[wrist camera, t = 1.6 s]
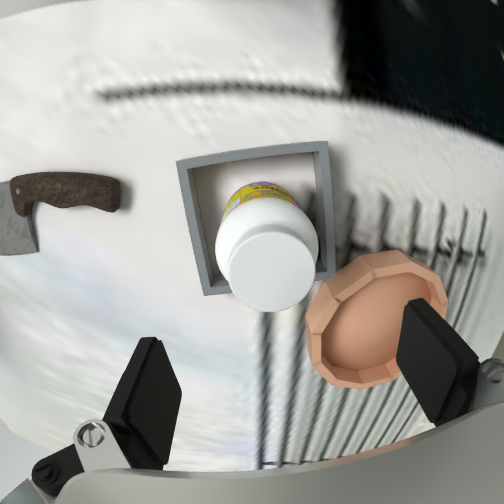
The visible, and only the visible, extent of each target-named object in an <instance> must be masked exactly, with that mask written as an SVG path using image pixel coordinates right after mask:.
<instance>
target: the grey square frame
mask: <svg viewBox="0 0 504 504" xmlns="http://www.w3.org/2000/svg"><path fill="white" fill-rule="evenodd" d="M303 152H313V160H314V169H315V179H316V190H317V202H318V214H319V229H320V245H321V261H318V262H316V264H315V278H314V281H319V280H325V279H331V278H336V261H335V232H334V213H333V198H332V184H331V173H330V162H329V152H328V143H327V141H313V142H301V143H291V144H281V145H272V146H264V147H256V148H248V149H241V150H234V151H228V152H222V153H216V154H210V155H204V156H198V157H193V158H188V159H183V160H179V161H176V165H177V170H178V176H179V181H180V187H181V192H182V197H183V202H184V208H185V213H186V218H187V222H188V227H189V232H190V237H191V241H192V246H193V251H194V255H195V260H196V264H197V268H198V273H199V277H200V281H201V285H202V290H203V294H204V296H208V295H217V294H225V293H233V292H232V290H231V288H230V285H229V282H228V281H227V280H226V279H225V277H224V276H223V275H216V276H213V273H212V268H211V263H210V259H209V254H208V249H207V244H206V239H205V234H204V229H203V224H202V219H201V213H200V208H199V203H198V197H197V192H196V186H195V180H194V175H193V169H192V168H194V167H200V166H206V165H211V164H217V163H224V162H230V161H237V160H243V159H251V158H258V157H266V156H274V155H283V154H292V153H303Z"/></svg>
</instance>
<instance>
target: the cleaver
mask: <svg viewBox="0 0 504 504" xmlns="http://www.w3.org/2000/svg"><path fill="white" fill-rule="evenodd" d="M34 201H41V202H45V203H47V204H49V205H52V206H54V207H58V208H69V207H73V206H78V205H88V206H91V207H95V208H98V209H101V210H104V211H107V212H115V211H116V210H117V209H118V208H119V206H120V183H119V181H118V180H117V179H114V178H112V177H107V176H102V175H96V174H88V173H74V172H40V173H32V174H25V175H20V176H16V177H14V178H12V179H11V180H10V181H7V182H2V183H0V255H21V254H28V253H34V252H37V245H36V239H35V233H34V228H33V224H32V219H31V215H30V214H31V212H32V206H33V202H34Z"/></svg>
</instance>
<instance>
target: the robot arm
mask: <svg viewBox="0 0 504 504" xmlns="http://www.w3.org/2000/svg"><path fill="white" fill-rule="evenodd" d="M478 359H479V357H478V356H477V355H476V354H475V352H474V351H473V350H472V349H471V348H470V347H469V346H468V345H467V343H466V342H465V341H464V340H463V339H462V338H461V337H460V336H459V335H458V334H457V332H456V331H455V330H454V329H453V328H452V327H451V326H450V325H449V324H448V323H447V322H446V321H445V320H444V319H443V318H442V317H441V316H440V315H439V313H438V312H437V311H436V310H435V309H434V308H433V307H432V306H431V305H430V304H429V303H428V302H427V301H426V300H425V299H424V298H417V299H413V300H409V301H408V303H407V305H405V306H404V311H403V318H402V325H401V331H400V337H399V343H398V348H397V353H396V363H397V366H398V367H399V369H400V371H401V372H402V374H403V376H404V377H405V379H406V381H407V383H408V384H409V386H410V388H411V389H412V391H413V393H414V395H415V396H416V398H417V400H418V402H419V404H420V405H421V407H422V409H423V411H424V413H425V414H426V416H427V418H428V420H429V421H430V422H431V423H434V424H435V426H436V427H435V428H433V429H430V430H428V431H425V432H423V433H420V434H418V435H415V436H412V437H410V438H407V439H404V440H401V441H398V442H395V443H392V444H389V445H386V446H383V447H379V448H376V449H372V450H369V451H365V452H361V453H357V454H354V455H349V456H345V457H341V458H336V459H332V460H327V461H322V462H316V463H311V464H305V465H298V466H291V467H284V468H275V469H265V470H253V471H236V472H182V471H164V470H163V466H164V465H166V464H167V463H168V460H169V455H170V450H171V445H172V440H173V435H174V430H175V425H176V421H177V416H178V411H179V407H180V402H181V397H182V391H181V388H180V385H179V383H178V381H177V378H176V376H175V373H174V371H173V368H172V366H171V363H170V361H169V358H168V356H167V353H166V351H165V348H164V345H163V343H162V341H161V340H158V339H157V338H156V337H142V338H141V339H140V340H139V342H138V344H137V346H136V349H135V351H134V353H133V355H132V357H131V359H130V361H129V363H128V365H127V368H126V370H125V372H124V373H123V374H122V377H121V379H120V381H119V383H118V385H117V387H116V390H115V392H114V394H113V396H112V399H111V401H110V403H109V405H108V408H107V410H106V412H105V415H104V417H103V419H102V420H97V419H93V420H88V421H85V422H84V423H82V424H81V425H80V426H79V427H78V428H77V429H76V431H75V432H74V437H73V439H74V444H72V445H70V446H68V447H66V448H64V449H62V450H60V451H58V452H56V453H54V454H52V455H50V456H48V457H46V458H44V459H41V460H40V461H39V462H37V463H36V464H35V465H34V468H33V470H32V479H31V480H29V479H28V478H27V479H26V480H25V481H23V482H22V483H21V484H20V485H19V486H18V487H16V488H15V489H14V490H13V491H12V492H11V493H9V494H8V495H7V496H6V497H5V498H4V499H2V501H1V502H0V504H504V361H502V360H500V359H495V358H490V359H486V360H485V361H483V362H482V363H480V362H479V361H478Z"/></svg>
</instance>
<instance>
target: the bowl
mask: <svg viewBox="0 0 504 504" xmlns="http://www.w3.org/2000/svg"><path fill="white" fill-rule="evenodd" d="M417 298H424V299H425V300H426V301H427V302H428V303H429V304H430V305H431V306H432V307H433V308H434V309H435V310H436V311H437V312H438V313H439V315H440V316H441V317H442V318H443V319H444V320H445V317H446V313H447V308H448V304H449V302H448V299H447V296H446V293H445V290H444V287H443V284H442V281H441V278H440V276H439V275H438V274H437V273H436V272H434V271H433V270H432V269H431V268H430V267H428V266H427V265H426V264H425V263H423V262H421V261H419V260H417V259H415V258H413V257H411V256H409V255H407V254H405V253H403V252H402V251H400V250H398V249H396V250H390V251H384V252H377V253H371V254H364V255H359V256H358V257H357V258H355V259H354V260H353V261H351V262H350V263H348V264H347V265H346V266H344V267H343V268H342V269H340V270H339V271H337V272H336V278H331V279H326V280H325V281H324V283H323V284H322V286H321V288H320V290H319V292H318V294H317V295H316V297H315V299H314V301H313V302H312V304H311V306H310V308H309V309H308V311H307V313H306V315H305V318H306V340H307V349H308V352H309V356H310V360H311V363H312V366H313V367H314V368H315V369H316V370H317V371H318V372H319V373H320V374H321V375H322V376H323V377H324V378H325V379H326V380H327V381H328V382H329V383H330V384H331V385H336V386H341V387H347V388H354V389H364V388H368V387H372V386H376V385H379V384H383V383H387V382H390V381H393V380H394V379H396V378H397V377H399V376H400V375H402V372H401V371H400V369H399V367H398V366H397V363H396V353H397V348H398V343H399V337H400V331H401V325H402V318H403V311H404V306H405V305H407V303H408V301H409V300H413V299H417Z"/></svg>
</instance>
